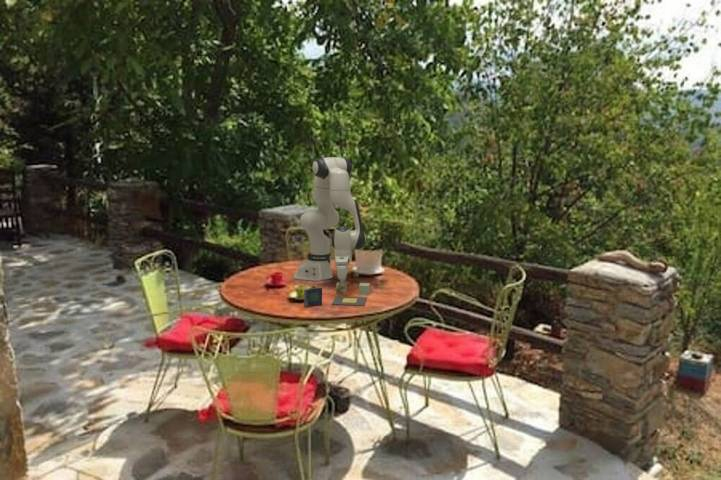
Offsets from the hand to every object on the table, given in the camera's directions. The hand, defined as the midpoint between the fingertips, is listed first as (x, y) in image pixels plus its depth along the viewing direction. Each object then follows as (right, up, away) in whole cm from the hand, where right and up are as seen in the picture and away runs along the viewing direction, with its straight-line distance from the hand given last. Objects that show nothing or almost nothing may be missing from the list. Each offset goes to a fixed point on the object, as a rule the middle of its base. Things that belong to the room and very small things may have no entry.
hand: (343, 284), depth 305 cm
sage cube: (+11, -5, 0) cm, 12 cm away
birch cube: (-1, -5, +1) cm, 5 cm away
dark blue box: (-14, -9, -20) cm, 26 cm away
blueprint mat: (+3, -8, -14) cm, 16 cm away
